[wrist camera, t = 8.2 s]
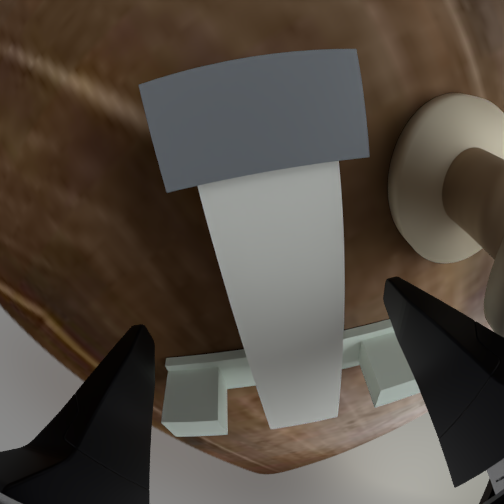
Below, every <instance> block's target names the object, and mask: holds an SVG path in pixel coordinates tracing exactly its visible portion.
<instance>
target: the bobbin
mask: <svg viewBox="0 0 504 504" xmlns="http://www.w3.org/2000/svg"><path fill="white" fill-rule="evenodd" d="M388 200H389V207H390V211H391V215H392V218H393V221H394V223H395V225H396V227H397V229H398V230H399V232H400V234H401V235H402V236H403V237H404V238H405V240H406V241H407V242H408V243H409V244H410V245H411V246H412V248H413V249H414V250H415V251H416V252H417V253H418V254H419V255H421V256H422V257H423V258H425V259H427V260H429V261H433V262H436V263H453V262H458V261H460V260H463V259H466V258H468V257H470V256H472V255H473V254H475V253H476V252H478V251H479V250H481V249H482V248H483V249H484V250H485V251H486V252H488V253H489V254H490V255H491V256H492V257H493V258H494V259H495V261H494V264H493V267H492V269H491V273H490V276H489V280H488V283H487V288H486V292H485V299H484V313H485V318H486V320H487V322H488V323H489V325H490V326H491V328H492V329H493V331H494V332H495V333H497V334H498V335H500V336H502V337H504V113H503V112H502V111H501V110H500V109H499V108H498V107H497V106H496V105H494V104H493V103H491V102H490V101H488V100H486V99H483V98H480V97H476V96H472V95H467V94H463V93H448V94H443V95H441V96H438V97H435V98H433V99H432V100H430V101H428V102H427V103H425V104H424V105H423V106H422V107H421V108H420V109H418V110H417V112H416V113H415V114H414V115H413V116H412V117H411V118H410V120H409V121H408V123H407V124H406V126H405V127H404V129H403V131H402V133H401V135H400V137H399V139H398V141H397V144H396V146H395V149H394V152H393V155H392V159H391V163H390V169H389V174H388Z"/></svg>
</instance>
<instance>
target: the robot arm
mask: <svg viewBox="0 0 504 504" xmlns="http://www.w3.org/2000/svg"><path fill="white" fill-rule="evenodd" d="M383 300H384V304H385V307H386V310H387V312H388V315H389V318H390V321H391V324H392V326H393V329H394V332H395V335H396V338H397V340H398V343H399V345H400V347H401V349H402V351H403V353H404V356H405V358H406V360H407V362H408V364H409V367H410V369H411V371H412V373H413V376H414V378H415V380H416V383H417V385H418V387H419V390H420V392H421V395H422V397H423V399H424V402H425V404H426V407H427V409H428V412H429V414H430V417H431V420H432V422H433V425H434V427H435V430H436V433H437V436H438V438H439V441H440V444H441V447H442V450H443V453H444V456H445V459H446V462H447V465H448V468H449V471H450V475H451V478H452V481H453V484H454V487H457V486H459V485H461V484H463V483H465V482H467V481H469V480H470V479H472V478H474V477H476V476H477V475H479V474H481V473H482V472H484V471H486V470H487V472H488V475H489V477H490V479H489V482H488V484H487V487H486V489H485V492H484V494H483V496H482V499H481V501H480V503H479V504H504V337H502V336H500V335H498V334H497V333H495V332H493V331H491V330H490V329H488V328H486V327H484V326H483V325H481V324H479V323H478V322H475V321H474V320H473V319H471V318H469V317H468V316H466V315H464V314H463V313H461V312H459V311H458V310H456V309H454V308H452V307H451V306H449V305H447V304H446V303H444V302H442V301H440V300H439V299H437V298H435V297H433V296H432V295H430V294H428V293H426V292H425V291H423V290H421V289H419V288H418V287H416V286H414V285H412V284H410V283H409V282H407V281H405V280H403V279H401V278H400V277H392V278H388V279H387V280H386V283H385V290H384V297H383ZM154 388H155V345H154V341H153V339H152V337H151V335H150V333H149V332H148V330H147V328H146V327H145V325H143V324H140V325H134V326H132V327H131V328H130V329H129V330H128V331H127V332H126V334H125V335H124V336H123V337H122V338H121V339H120V341H119V342H118V343H117V344H116V345H115V346H114V347H113V349H112V350H111V351H110V352H109V353H108V355H107V356H106V357H105V358H104V359H103V360H102V362H101V363H100V364H99V365H98V366H97V367H96V369H95V370H94V371H93V372H92V373H91V375H90V376H89V377H88V378H87V379H86V381H85V382H84V383H83V384H82V386H81V387H80V388H79V389H78V390H77V392H76V393H75V394H76V395H75V394H74V395H73V396H72V398H71V399H70V400H69V401H68V403H67V404H66V405H65V406H64V407H63V408H62V410H61V411H60V412H59V413H58V414H57V415H56V417H54V418H53V420H52V421H51V422H50V423H49V424H48V425H47V426H46V427H45V428H44V429H43V430H42V431H41V432H40V433H39V434H38V435H37V436H36V437H35V439H34V440H32V441H31V442H30V443H29V444H27V445H25V446H23V447H21V448H17V449H12V450H8V451H3V452H0V504H149V471H150V445H151V427H152V413H153V400H154Z"/></svg>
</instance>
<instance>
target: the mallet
mask: <svg viewBox="0 0 504 504" xmlns="http://www.w3.org/2000/svg"><path fill="white" fill-rule="evenodd" d="M139 88H140V93H141V97H142V101H143V106H144V110H145V114H146V118H147V122H148V126H149V130H150V134H151V138H152V142H153V145H154V149H155V153H156V157H157V160H158V164H159V167H160V171H161V175H162V178H163V182H164V185H165V188H166V192H167V193H168V192H172V191H177V190H181V189H185V188H189V187H194V186H198V190H199V194H200V198H201V202H202V205H203V209H204V213H205V217H206V220H207V224H208V228H209V231H210V235H211V239H212V242H213V246H214V249H215V253H216V256H217V260H218V264H219V267H220V271H221V274H222V277H223V281H224V284H225V288H226V291H227V295H228V298H229V301H230V305H231V308H232V311H233V315H234V318H235V321H236V324H237V328H238V331H239V334H240V337H241V341H242V344H243V347H244V350H245V353H246V357H247V360H248V363H249V366H250V369H251V372H252V375H253V378H254V381H255V385H256V388H257V391H258V394H259V397H260V400H261V403H262V406H263V409H264V412H265V414H266V417H267V420H268V423H269V426H270V429H276V428H283V427H289V426H295V425H300V424H306V423H311V422H316V421H321V420H325V419H330V418H334V417H338V408H339V397H340V386H341V373H342V357H343V337H344V299H345V268H344V230H343V210H342V194H341V180H340V168H339V161H341V160H349V159H357V158H366V157H370V156H369V142H368V130H367V120H366V111H365V102H364V95H363V87H362V80H361V74H360V67H359V61H358V56H357V50H356V49H326V50H308V51H295V52H285V53H276V54H268V55H261V56H254V57H248V58H242V59H236V60H231V61H225V62H220V63H216V64H211V65H207V66H202V67H198V68H194V69H190V70H186V71H182V72H179V73H175V74H172V75H168V76H165V77H161V78H158V79H155V80H152V81H149V82H146V83H143V84H140V85H139Z"/></svg>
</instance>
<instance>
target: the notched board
mask: <svg viewBox="0 0 504 504" xmlns="http://www.w3.org/2000/svg"><path fill="white" fill-rule="evenodd" d="M357 365H360V366H361V369H362V372H363V375H364V378H365V381H366V384H367V386H368V389H369V392H370V395H371V398H372V401H373V404H374V407H379V406H382V405H385V404H388V403H391V402H394V401H397V400H400V399H403V398H406V397H409V396H412V395H415V394H417V393H420V390H419V387H418V385H417V383H416V380H415V378H414V376H413V373H412V371H411V369H410V367H409V364H408V362H407V360H406V358H405V356H404V353H403V351H402V349H401V347H400V345H399V343H398V340H397V338H396V335H395V332H394V329H393V326H392V324H391V321H390V319H388V320H384V321H381V322H377V323H373V324H369V325H365V326H361V327H357V328H352V329H348V330H344V337H343V357H342V369H345V368H349V367H353V366H357ZM165 367H166V369H167V370H168V375H167V382H166V389H165V397H164V404H163V412H162V420H161V423H162V424H163V425H164V426H165V427H166V428H167V429H168V430H169V431H171V432H172V433H173V434H174V435H175V436H212V435H228V427H227V389H231V388H240V387H248V386H255V381H254V378H253V375H252V372H251V369H250V366H249V363H248V360H247V357H246V353H245V350H244V349H241V350H234V351H227V352H219V353H211V354H202V355H193V356H183V357H172V358H166V362H165Z"/></svg>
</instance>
